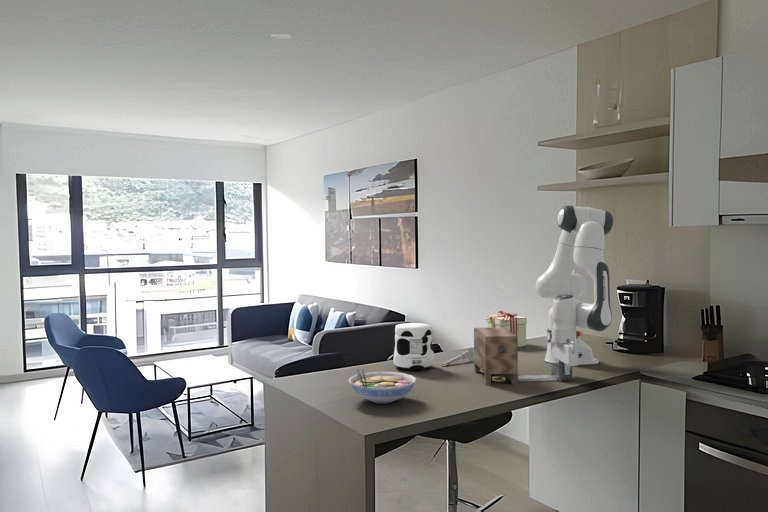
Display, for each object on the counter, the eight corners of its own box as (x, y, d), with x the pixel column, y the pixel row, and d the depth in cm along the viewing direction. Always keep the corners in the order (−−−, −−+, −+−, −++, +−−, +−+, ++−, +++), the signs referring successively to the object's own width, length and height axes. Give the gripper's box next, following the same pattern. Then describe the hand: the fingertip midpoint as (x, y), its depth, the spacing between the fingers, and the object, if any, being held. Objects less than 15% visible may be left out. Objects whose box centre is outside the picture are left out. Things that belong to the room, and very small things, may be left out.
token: (503, 379, 225) (503, 376, 225) (506, 382, 220) (506, 379, 220) (490, 379, 225) (490, 376, 225) (493, 382, 220) (493, 379, 220)
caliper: (471, 360, 261) (471, 346, 261) (473, 360, 260) (473, 346, 260) (440, 367, 248) (440, 352, 248) (442, 367, 247) (442, 352, 247)
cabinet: (503, 371, 238) (503, 327, 237) (518, 385, 215) (518, 336, 214) (474, 371, 237) (473, 327, 237) (486, 385, 214) (486, 337, 214)
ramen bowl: (421, 410, 183) (421, 384, 183) (349, 413, 182) (348, 387, 181) (411, 390, 208) (411, 367, 208) (347, 392, 207) (347, 369, 206)
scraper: (566, 376, 228) (566, 360, 228) (574, 381, 219) (574, 365, 219) (511, 377, 227) (511, 361, 227) (517, 382, 218) (517, 366, 218)
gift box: (480, 344, 300) (480, 311, 300) (511, 342, 307) (511, 309, 306) (498, 350, 284) (497, 315, 284) (530, 347, 291) (530, 313, 290)
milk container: (412, 362, 258) (412, 321, 257) (442, 367, 245) (442, 325, 245) (384, 368, 246) (384, 325, 245) (414, 374, 233) (414, 330, 233)
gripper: (582, 341, 213) (582, 379, 213) (563, 332, 233) (563, 367, 234) (565, 341, 213) (565, 379, 213) (547, 333, 233) (547, 367, 234)
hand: (564, 372), depth 224 cm, fingers closed on scraper, 3 cm apart
